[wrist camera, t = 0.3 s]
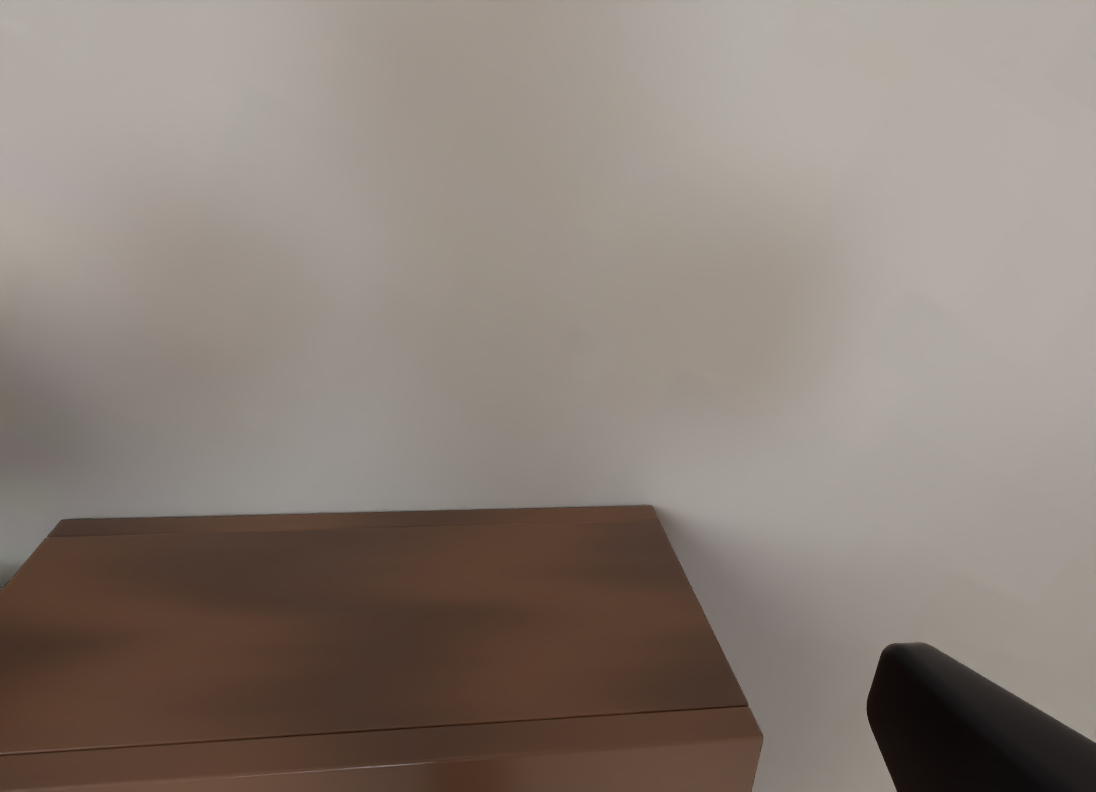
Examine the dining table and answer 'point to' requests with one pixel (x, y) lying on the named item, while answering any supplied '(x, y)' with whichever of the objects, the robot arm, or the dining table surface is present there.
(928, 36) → the dining table surface
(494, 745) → the cabinet
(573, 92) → the dining table surface
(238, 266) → the dining table surface
